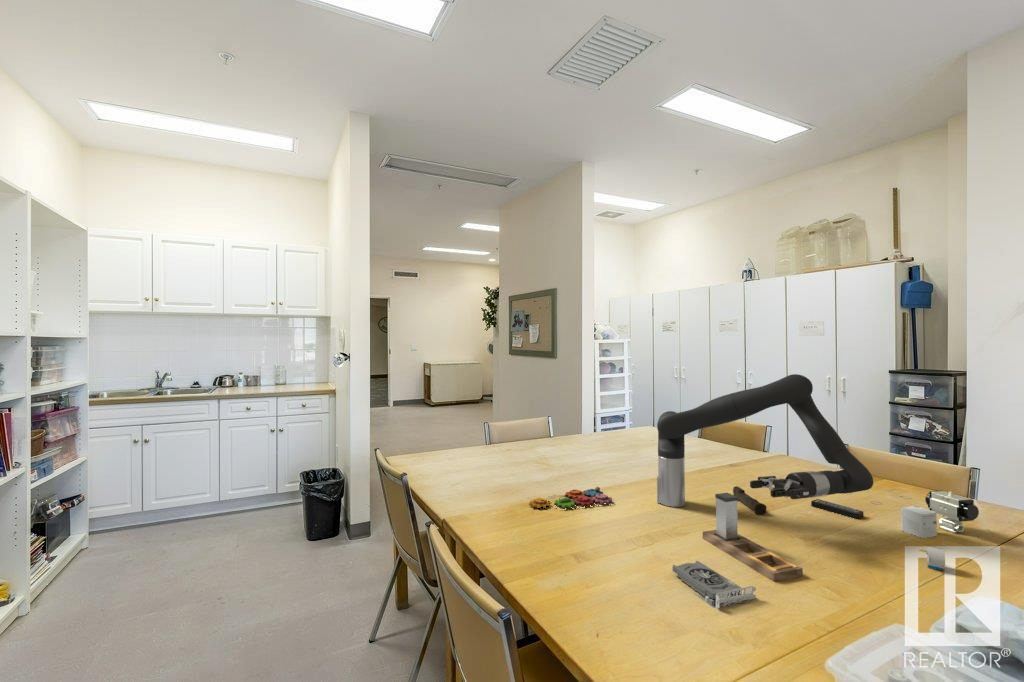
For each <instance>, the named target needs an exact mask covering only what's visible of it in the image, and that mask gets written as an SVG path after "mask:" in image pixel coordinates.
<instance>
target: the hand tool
mask: <svg viewBox="0 0 1024 682" xmlns="http://www.w3.org/2000/svg"><path fill="white" fill-rule="evenodd" d="M732 492H733V494H732V495H734V496H736V497H738V501H737V502H739V501H741V502H740V503H743V505H745V506H747V508H749V509H751V510H752V511H754V513H755V515H756V516H761V515H763V516H764V515H765V514H766V513H767V505H766V504H765V503H762V502H760V501H758V500H757V499H756V498H753V497H752V496H750V495H749V494H747V493H746V492H745V490H744V489H743V488H741V487H740V486H733V488H732Z"/></svg>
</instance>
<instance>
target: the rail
mask: <svg viewBox="0 0 1024 682" xmlns="http://www.w3.org/2000/svg"><path fill="white" fill-rule="evenodd" d="M702 539H703V540H704V541H706V542H708V543H710V544H711V545H713V546H715V547H716V548H718V549H720V550H721V551H723V552H725V553H726V554H727V555H730V556H731V557H732V558H734V559H736V560H737V561H739V562H741V563H742V564H744V565H746V566H747V567H749V568H751V569H753V570H754V571H755V572H758V573H759V574H760V575H762V576H764V577H766V578H767V579H769V580H770V581H772V582H779V581H784V580H790V579H795V578H801V577H803V576H804V574H803V570H804V569H803V567H801V566H799V565H798V564H796V563H794V562H792V561H790V560H788V559H786V558H784V557H782V556H781V555H779V554H778V553H775V552H774V551H771V550H769V549H768V548H766V547H764V546H762V545H760V544H758V543H756V542H754V541H753V540H751V539H749V538H747V537H745V536H743V535H742V534H739V533H738V540H733V541H724V540H723V539H721V538H719V537H717V536H716V529H712V530H706V531H704V530H703V531H702ZM745 551H750V552H751V553H747V552H745ZM770 564H773V565H774V566H773V567H772V566H771V565H770Z"/></svg>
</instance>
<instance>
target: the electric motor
mask: <svg viewBox="0 0 1024 682" xmlns="http://www.w3.org/2000/svg"><path fill="white" fill-rule="evenodd" d="M918 551H919V552H922V553H925V554H926V565H927V568H928V569H931V568H932V570H936V569H938V570H937V571H940V570H942V571H943V570H944V569H946V554H945V550H944V549H940V548H937V547H936V548H935V547H930V546H926V548H920V547H919V548H918Z"/></svg>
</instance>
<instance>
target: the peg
mask: <svg viewBox="0 0 1024 682" xmlns="http://www.w3.org/2000/svg"><path fill="white" fill-rule="evenodd" d="M714 496H715V515H716V516H715V518H716V519H715V520H716V521H715V523H716V524H715V525H716V526H715V528H716V529H715V530H716V536H717V537H719V538H721V539H723V540H724V541H733V540H738V534H739V533H738V528H739V527H738V502H739V501H738V497H736V496H734V494H731V493H729V492H721V493H715V494H714Z"/></svg>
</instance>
